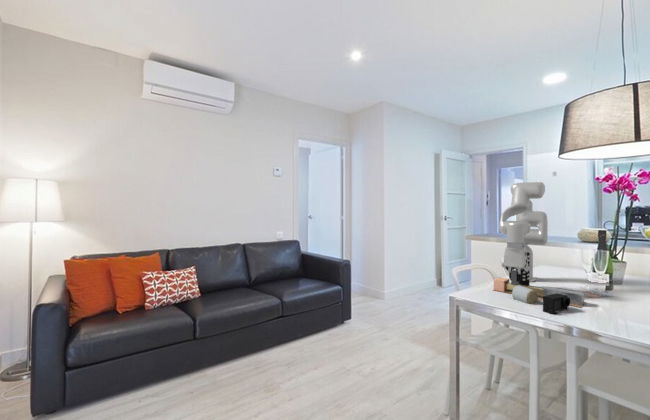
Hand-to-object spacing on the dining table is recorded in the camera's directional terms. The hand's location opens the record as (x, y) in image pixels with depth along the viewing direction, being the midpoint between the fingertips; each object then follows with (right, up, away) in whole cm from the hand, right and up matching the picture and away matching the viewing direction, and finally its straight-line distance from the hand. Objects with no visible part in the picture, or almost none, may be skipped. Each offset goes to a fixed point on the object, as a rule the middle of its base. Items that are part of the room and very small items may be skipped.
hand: (515, 280), depth 160 cm
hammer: (+3, -5, -3) cm, 7 cm away
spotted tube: (+10, -7, +11) cm, 17 cm away
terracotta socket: (-4, -6, +5) cm, 9 cm away
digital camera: (+2, -8, -26) cm, 28 cm away
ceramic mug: (-3, -8, -14) cm, 16 cm away
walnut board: (+6, -7, -7) cm, 12 cm away
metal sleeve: (+13, -6, -15) cm, 21 cm away
